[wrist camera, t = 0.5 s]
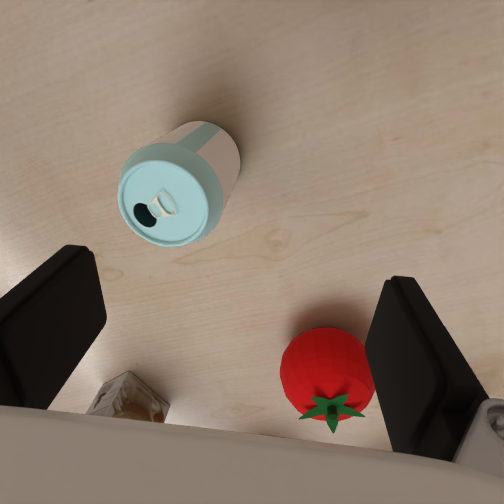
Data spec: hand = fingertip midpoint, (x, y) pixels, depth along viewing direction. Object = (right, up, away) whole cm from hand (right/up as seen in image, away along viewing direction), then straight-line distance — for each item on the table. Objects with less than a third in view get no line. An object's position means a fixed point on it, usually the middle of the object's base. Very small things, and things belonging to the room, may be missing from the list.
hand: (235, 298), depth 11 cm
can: (-4, +10, +20) cm, 23 cm away
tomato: (+9, -10, +30) cm, 33 cm away
